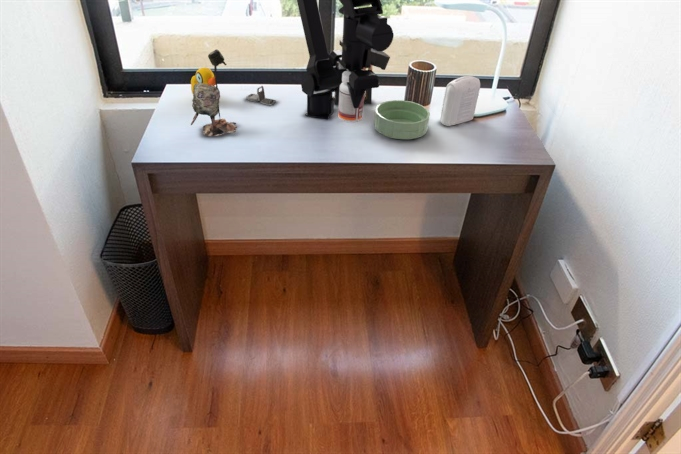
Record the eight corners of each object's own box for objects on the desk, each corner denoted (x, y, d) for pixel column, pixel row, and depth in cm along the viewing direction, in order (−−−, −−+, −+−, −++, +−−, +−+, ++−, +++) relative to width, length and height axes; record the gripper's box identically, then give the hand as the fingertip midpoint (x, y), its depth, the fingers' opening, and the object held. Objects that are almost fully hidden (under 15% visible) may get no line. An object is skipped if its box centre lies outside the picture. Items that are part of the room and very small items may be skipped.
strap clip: (245, 99, 145) (244, 85, 142) (251, 96, 147) (250, 81, 144) (271, 106, 142) (270, 91, 140) (276, 102, 144) (276, 87, 142)
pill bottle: (355, 110, 130) (358, 67, 123) (366, 120, 126) (370, 77, 119) (333, 114, 128) (335, 70, 121) (344, 124, 124) (347, 80, 117)
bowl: (369, 136, 130) (370, 118, 127) (379, 114, 141) (381, 97, 138) (423, 145, 128) (426, 127, 124) (429, 121, 138) (432, 104, 135)
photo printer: (464, 114, 143) (473, 71, 136) (475, 120, 140) (484, 76, 133) (437, 121, 138) (444, 78, 131) (448, 128, 136) (456, 83, 128)
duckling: (226, 106, 141) (223, 71, 135) (210, 111, 138) (205, 75, 132) (204, 93, 147) (199, 59, 141) (187, 98, 144) (182, 63, 138)
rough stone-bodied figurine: (196, 122, 132) (185, 45, 120) (240, 124, 132) (233, 47, 120) (189, 137, 126) (176, 57, 114) (234, 139, 126) (227, 59, 114)
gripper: (404, 48, 111) (396, 115, 120) (372, 24, 124) (367, 85, 134) (356, 52, 107) (352, 120, 117) (329, 26, 121) (327, 89, 131)
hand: (351, 102), depth 125 cm, fingers closed on pill bottle, 6 cm apart
